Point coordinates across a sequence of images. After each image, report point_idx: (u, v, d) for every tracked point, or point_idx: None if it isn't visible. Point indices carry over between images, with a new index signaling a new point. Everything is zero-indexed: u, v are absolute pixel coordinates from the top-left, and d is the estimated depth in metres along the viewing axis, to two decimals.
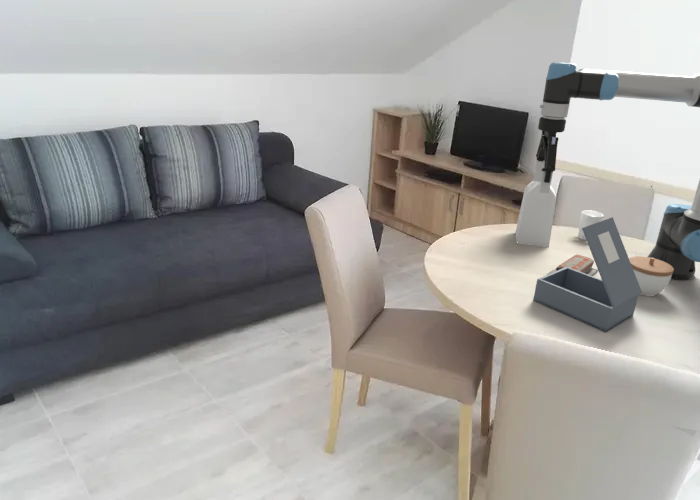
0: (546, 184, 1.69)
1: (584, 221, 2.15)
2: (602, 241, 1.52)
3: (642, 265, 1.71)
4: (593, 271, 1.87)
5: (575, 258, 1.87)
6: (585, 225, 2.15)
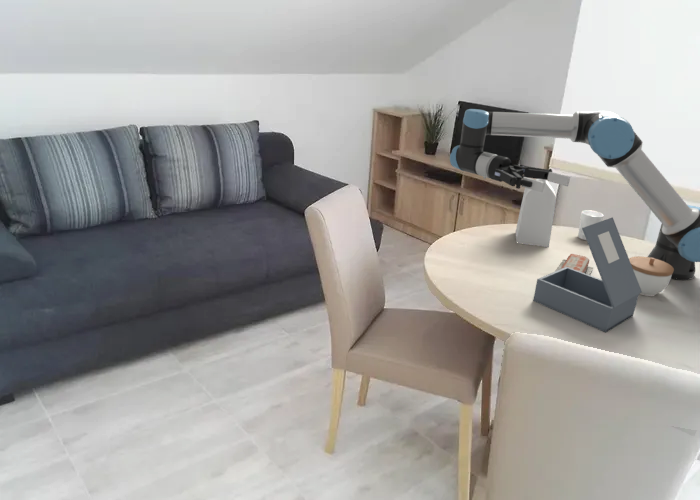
0: (534, 184, 1.59)
1: (584, 221, 2.15)
2: (602, 241, 1.52)
3: (642, 265, 1.71)
4: (590, 269, 1.88)
5: (573, 258, 1.87)
6: (585, 225, 2.15)
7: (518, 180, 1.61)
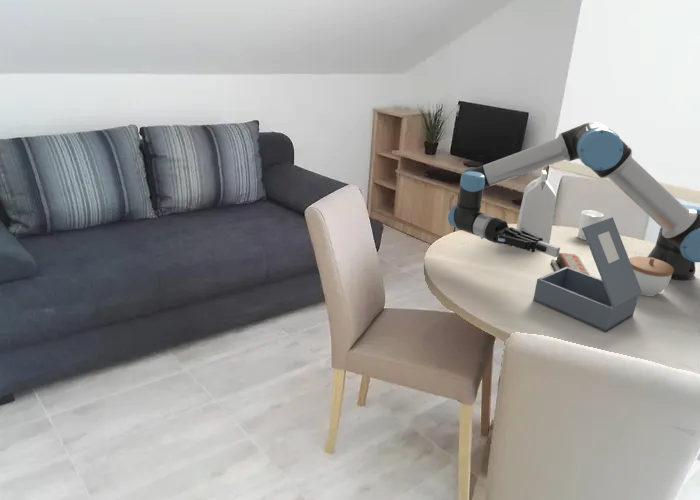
0: (548, 249, 1.66)
1: (584, 221, 2.15)
2: (602, 241, 1.52)
3: (642, 265, 1.71)
4: None
5: (567, 258, 1.87)
6: (585, 225, 2.15)
7: (533, 245, 1.68)
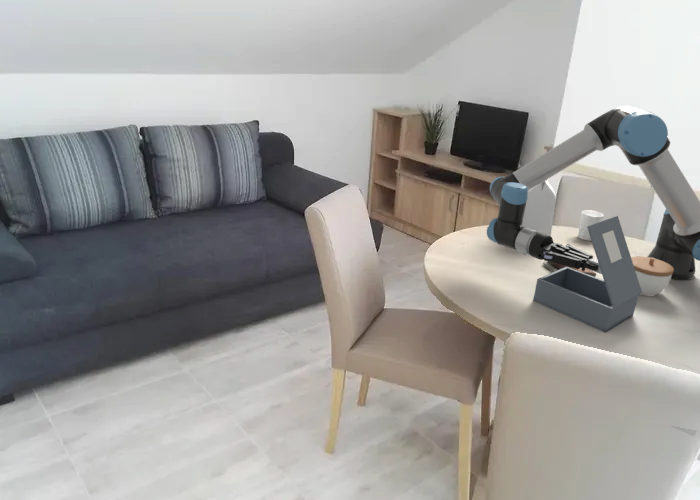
0: None
1: (584, 221, 2.15)
2: (606, 240, 1.51)
3: (642, 265, 1.71)
4: None
5: None
6: (585, 225, 2.15)
7: (583, 263, 1.56)
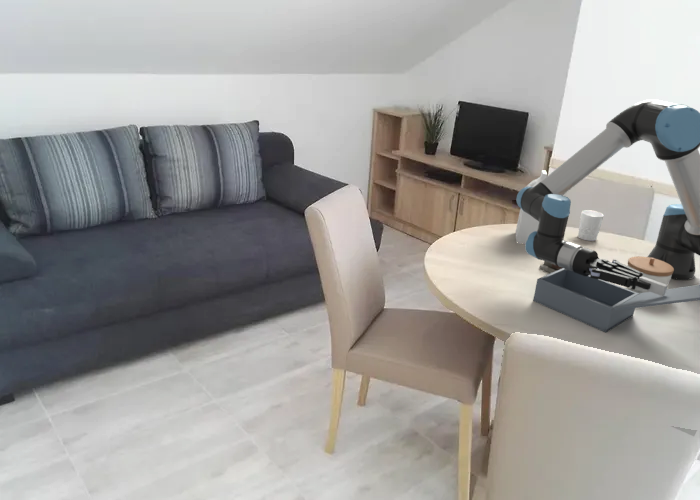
0: (653, 286, 1.45)
1: (584, 221, 2.15)
2: None
3: (642, 265, 1.71)
4: None
5: None
6: (585, 225, 2.15)
7: (634, 281, 1.47)
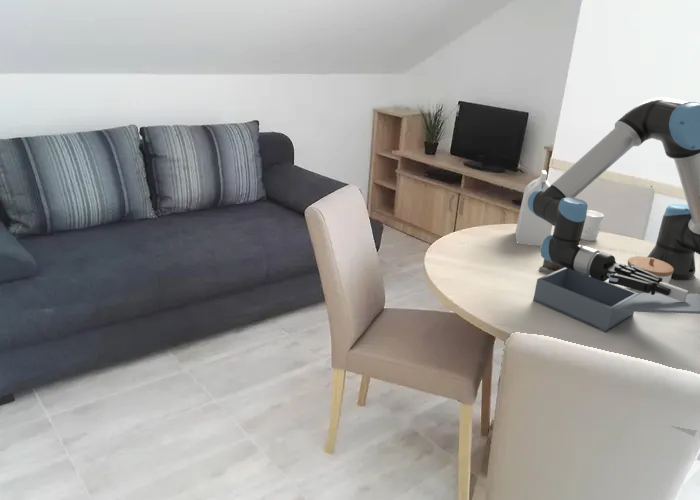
0: (673, 292, 1.42)
1: None
2: None
3: (642, 265, 1.71)
4: None
5: None
6: (585, 225, 2.15)
7: (654, 286, 1.44)
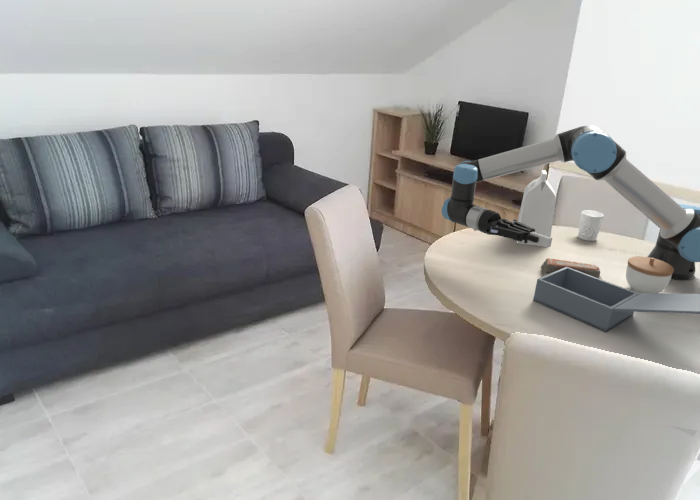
0: (540, 240, 1.68)
1: (584, 221, 2.15)
2: None
3: (642, 265, 1.71)
4: None
5: (562, 263, 1.83)
6: (585, 225, 2.15)
7: (525, 235, 1.70)
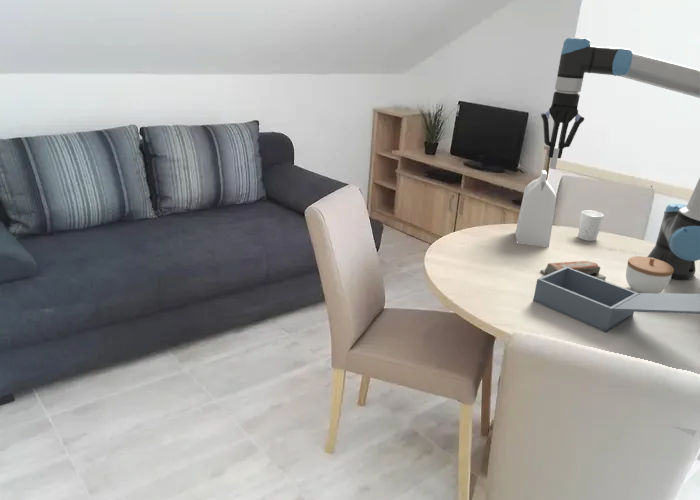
0: (551, 159, 1.81)
1: (584, 221, 2.15)
2: None
3: (642, 265, 1.71)
4: None
5: (568, 266, 1.81)
6: (585, 225, 2.15)
7: (549, 146, 1.80)
